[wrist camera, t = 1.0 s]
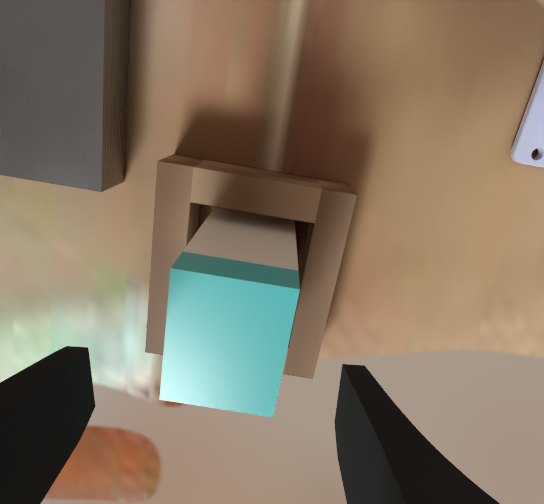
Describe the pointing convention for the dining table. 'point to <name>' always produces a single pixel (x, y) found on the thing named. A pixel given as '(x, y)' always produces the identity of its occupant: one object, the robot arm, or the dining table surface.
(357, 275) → the dining table surface
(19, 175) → the port
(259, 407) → the plug
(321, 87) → the dining table surface
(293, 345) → the frame
